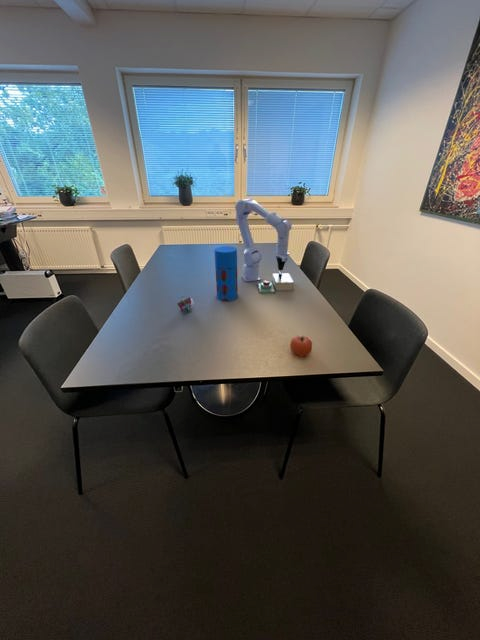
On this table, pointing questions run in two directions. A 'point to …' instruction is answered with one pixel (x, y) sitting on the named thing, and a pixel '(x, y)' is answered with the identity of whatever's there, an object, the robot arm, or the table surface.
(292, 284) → the beige open box
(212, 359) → the table surface
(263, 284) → the button
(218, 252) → the thermos
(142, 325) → the table surface
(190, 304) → the geometric puzzle
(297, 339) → the red apple
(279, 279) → the lid
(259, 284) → the control pad
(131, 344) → the table surface
